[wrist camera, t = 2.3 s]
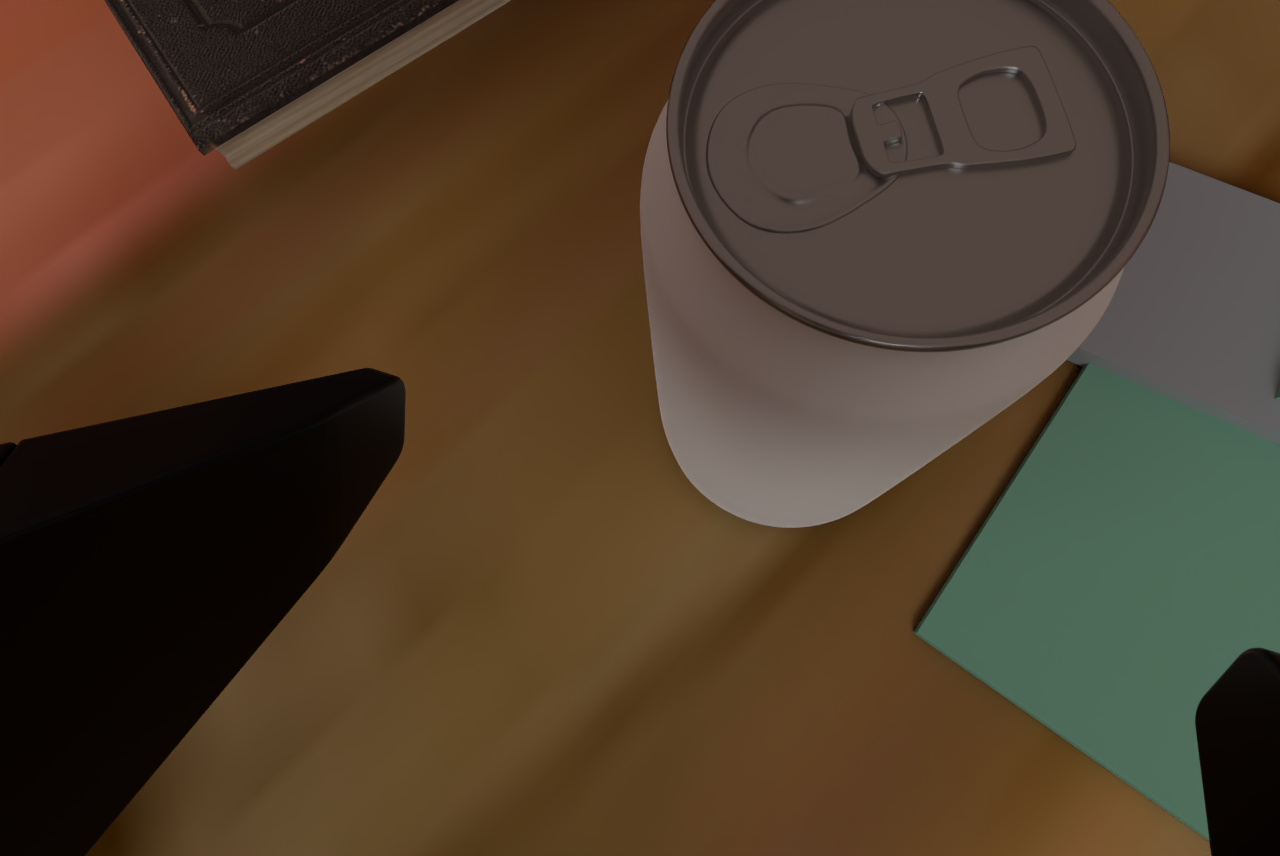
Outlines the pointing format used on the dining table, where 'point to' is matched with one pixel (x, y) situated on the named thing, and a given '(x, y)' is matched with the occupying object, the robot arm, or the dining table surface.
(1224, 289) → the legend board
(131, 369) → the dining table surface
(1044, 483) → the pad
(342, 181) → the dining table surface
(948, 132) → the can
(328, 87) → the hardcover book
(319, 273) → the dining table surface
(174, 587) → the robot arm
